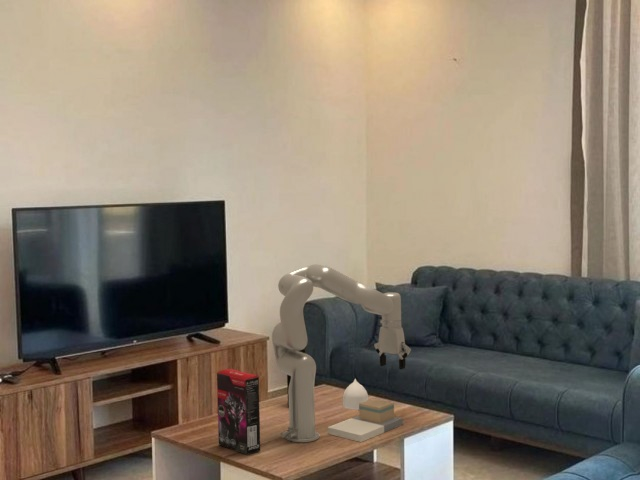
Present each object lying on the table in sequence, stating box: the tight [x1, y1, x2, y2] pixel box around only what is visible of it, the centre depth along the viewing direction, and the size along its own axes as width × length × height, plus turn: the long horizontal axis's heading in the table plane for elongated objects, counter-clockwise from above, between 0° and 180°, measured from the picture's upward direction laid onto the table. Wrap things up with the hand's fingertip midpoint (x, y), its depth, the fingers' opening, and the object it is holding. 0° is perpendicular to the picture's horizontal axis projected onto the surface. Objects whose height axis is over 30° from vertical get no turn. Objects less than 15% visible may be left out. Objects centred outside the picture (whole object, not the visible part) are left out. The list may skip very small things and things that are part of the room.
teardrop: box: [342, 378, 369, 411], centre depth 334 cm, size 11×11×12 cm
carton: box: [358, 398, 395, 423], centre depth 308 cm, size 9×10×6 cm
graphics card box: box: [216, 368, 261, 455], centre depth 283 cm, size 17×7×27 cm, turn 45°
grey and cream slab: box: [326, 414, 404, 443], centre depth 303 cm, size 26×16×2 cm, turn 139°
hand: (392, 367), depth 315 cm, fingers open, 8 cm apart
